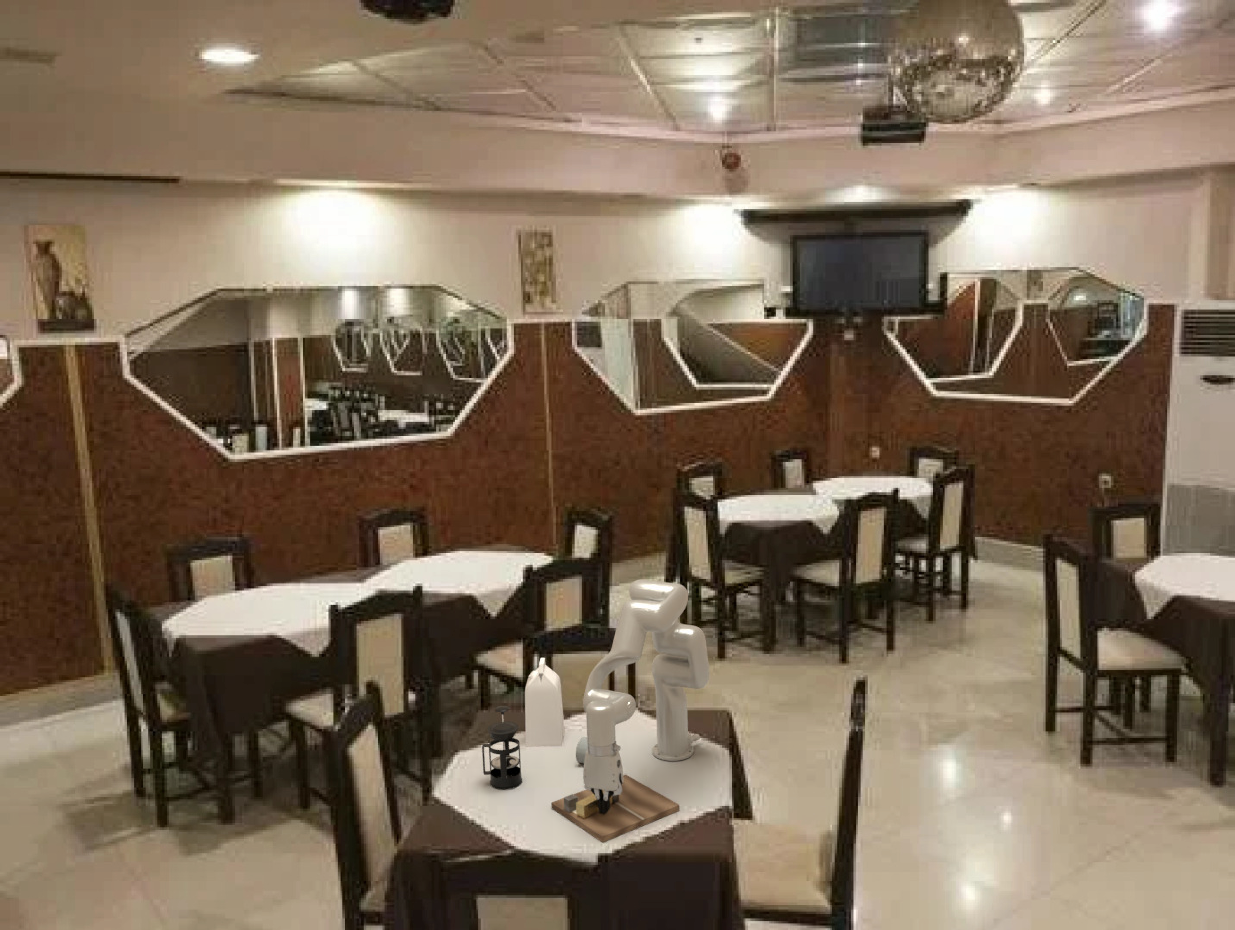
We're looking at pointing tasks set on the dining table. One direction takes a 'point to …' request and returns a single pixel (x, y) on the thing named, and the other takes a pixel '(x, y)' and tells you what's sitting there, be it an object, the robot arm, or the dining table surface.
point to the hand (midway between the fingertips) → (604, 811)
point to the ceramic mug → (581, 750)
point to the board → (619, 810)
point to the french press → (503, 754)
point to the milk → (543, 708)
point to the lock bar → (591, 805)
